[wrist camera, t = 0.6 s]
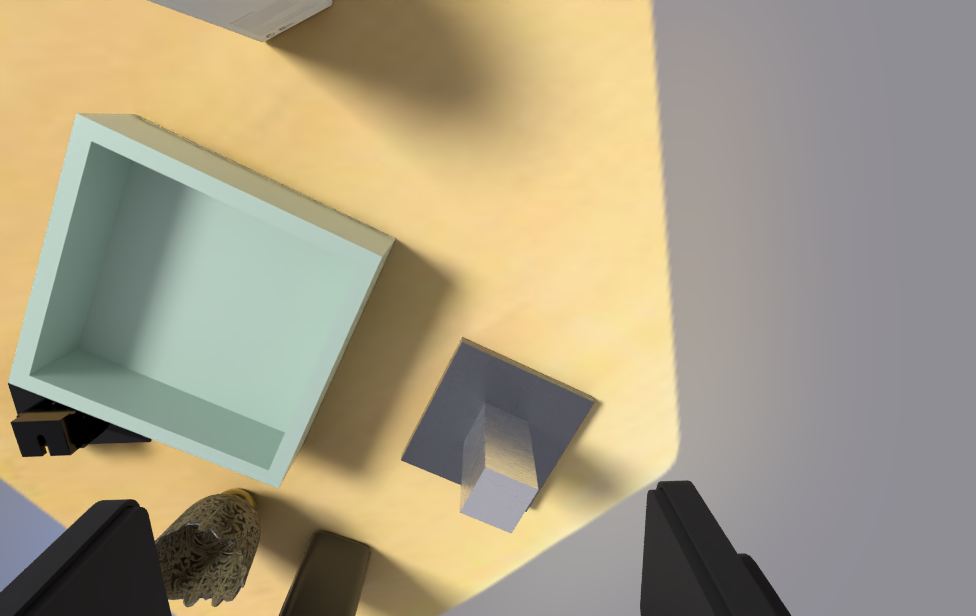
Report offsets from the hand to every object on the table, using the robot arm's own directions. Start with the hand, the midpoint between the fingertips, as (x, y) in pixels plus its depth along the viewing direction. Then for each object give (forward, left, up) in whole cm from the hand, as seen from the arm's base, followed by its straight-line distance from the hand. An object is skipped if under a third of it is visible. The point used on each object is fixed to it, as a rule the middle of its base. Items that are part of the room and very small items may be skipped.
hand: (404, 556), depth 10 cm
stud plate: (+14, +10, -34) cm, 38 cm away
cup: (+31, -7, -34) cm, 46 cm away
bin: (+13, -14, -34) cm, 39 cm away
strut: (+14, +10, -33) cm, 37 cm away
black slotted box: (+28, -22, -34) cm, 50 cm away
